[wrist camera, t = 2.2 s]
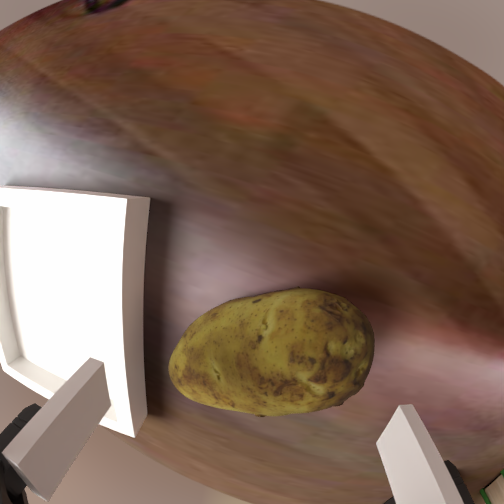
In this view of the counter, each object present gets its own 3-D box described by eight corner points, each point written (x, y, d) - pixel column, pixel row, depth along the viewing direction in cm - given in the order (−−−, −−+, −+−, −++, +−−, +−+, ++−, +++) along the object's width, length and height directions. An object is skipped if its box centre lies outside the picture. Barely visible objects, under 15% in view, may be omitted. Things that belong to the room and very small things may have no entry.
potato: (166, 277, 20) (110, 324, 12) (350, 265, 19) (396, 310, 11) (186, 374, 21) (154, 443, 13) (346, 366, 20) (373, 438, 12)
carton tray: (147, 414, 23) (134, 437, 19) (20, 357, 23) (3, 370, 20) (150, 197, 19) (127, 198, 15) (4, 185, 19) (-21, 186, 16)
